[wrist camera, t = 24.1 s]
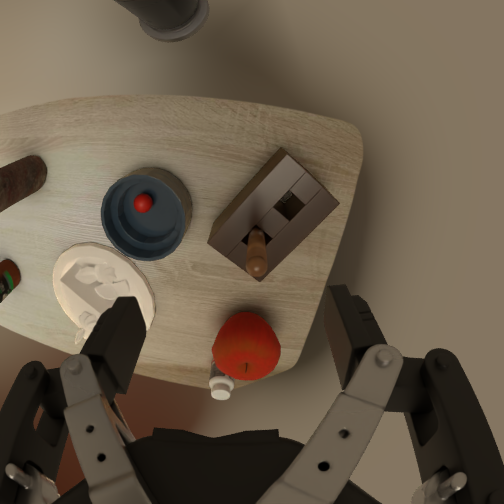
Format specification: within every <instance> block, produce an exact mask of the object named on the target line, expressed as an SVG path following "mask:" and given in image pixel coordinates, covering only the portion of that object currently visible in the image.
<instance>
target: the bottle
mask: <svg viewBox="0 0 504 504" xmlns="http://www.w3.org/2000/svg"><path fill="white" fill-rule="evenodd" d="M19 282H20V273H19V270H18V268H17V266H16V265H15V264H14V263H13V262H12V261H10V260H3V261H2V262H0V303H1V302H2V301H3V300H4V299H5V298H6V297H7V296H8V294H9V293H10V292H11V291H12V290H13V289H14V288H15V287H16V286H17V285H18V284H19Z"/></svg>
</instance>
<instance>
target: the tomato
mask: <svg viewBox="0 0 504 504" xmlns="http://www.w3.org/2000/svg"><path fill="white" fill-rule="evenodd" d="M152 204H153V202H152V198H151V197H150V196H149V195H148V194H144V193H143V194H139V195H138V196H136V198H135V199H134V208H135V209H136V210H137V211H138V212H140V213H146V212H148V211H149V210H150V209H151V207H152Z"/></svg>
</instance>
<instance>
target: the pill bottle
mask: <svg viewBox="0 0 504 504" xmlns="http://www.w3.org/2000/svg"><path fill="white" fill-rule="evenodd" d="M209 385H210V387H211V389H212V390H211V395H212V397H214V398H215V399H218V400H226V399H228V398H229V397H230V391H231V390H232V389H233V387H234V378H232V377H230V376H228V375H226V374H224V373H223V372H222V371H221V370H219V369H218V368H217V366H216V364H215V361H214V358H213V360H212V364H211V372H210V380H209Z"/></svg>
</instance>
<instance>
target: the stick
mask: <svg viewBox="0 0 504 504" xmlns="http://www.w3.org/2000/svg"><path fill="white" fill-rule="evenodd" d="M267 268H268V263H267V254H266V245H265V235H264V231H263V230H262V229H261V228H259V227H258V226H257V225H255V226H254V227H253V228H252V229H251V231H250V232H249V238H248V248H247V258H246V270H247V272H248V273H249V274H250V275H251V276H254V277H260V276H262V275H264V274H265V272H266V271H267Z"/></svg>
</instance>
